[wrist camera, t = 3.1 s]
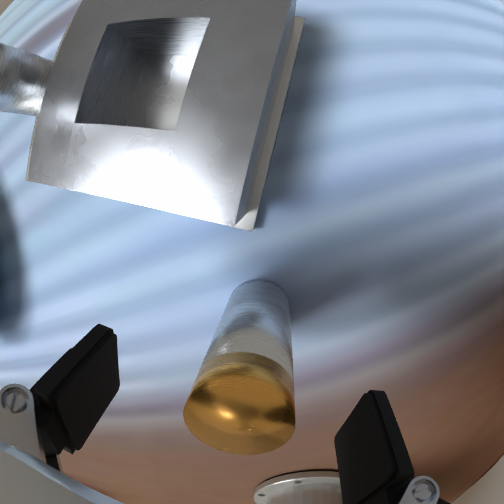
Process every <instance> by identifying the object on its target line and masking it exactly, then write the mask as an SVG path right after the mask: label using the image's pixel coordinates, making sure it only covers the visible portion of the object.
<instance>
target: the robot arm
mask: <svg viewBox="0 0 504 504" xmlns="http://www.w3.org/2000/svg"><path fill="white" fill-rule="evenodd" d="M119 386H120V380H119V368H118V352H117V336H116V334H114V332H113V329H111V328H109V327H106V326H104V325H101V324H97V325H96V326H95V327H94V328H93V329H92V330H91V331H90V332H89V333H88V334H87V335H86V336H84V337H83V338H82V339H81V340H80V341H79V342H78V343H77V344H76V345H75V346H74V347H73V348H71V349H69V350H68V351H67V352H66V353H65V354H64V355H63V356H62V357H61V358H60V359H59V360H58V361H57V362H56V363H55V364H54V365H53V366H52V367H51V368H50V369H49V370H48V371H47V372H46V373H45V374H44V375H43V376H42V377H41V378H40V379H39V380H38V381H37V382H36V384H35V385H34V386H33V387H32V388H31V389H30V390H29V389H27V388H26V387H25V386H23V385H20V384H9V385H7V386H5V387H3V388H2V389H1V390H0V504H124V503H121V502H119V501H116V500H114V499H112V498H110V497H107V496H105V495H103V494H101V493H99V492H97V491H95V490H93V489H91V488H89V487H87V486H85V485H83V484H81V483H79V482H77V481H75V480H73V479H72V478H70V477H68V476H66V475H65V474H64V473H63V470H62V466H61V462H60V458H59V454H60V453H61V451H62V450H63V449H64V450H66V451H67V452H69V453H71V454H72V455H73V453H74V451H75V450H80V449H81V448H82V446H83V445H84V443H85V441H86V440H87V438H88V437H89V435H90V433H91V432H92V430H93V429H94V427H95V426H96V424H97V422H98V421H99V419H100V418H101V416H102V415H103V413H104V412H105V410H106V408H107V407H108V405H109V404H110V402H111V401H112V399H113V398H114V396H115V395H116V393H117V392H118V390H119ZM334 442H335V449H336V456H337V463H338V471H339V472H333V471H308V472H298V473H292V474H287V475H282V476H278V477H275V478H272V479H269V480H267V481H265V482H263V483H261V484H260V485H259V486H258V487H257V488H256V489H255V492H254V501H255V503H256V504H450V503H448V502H446V501H444V500H442V499H441V498H439V495H440V490H439V486H438V484H437V483H436V482H435V480H433V479H432V478H430V477H428V476H418V477H416V478H415V477H414V473H415V472H414V469H413V466H412V463H411V460H410V457H409V454H408V451H407V449H406V446H405V443H404V440H403V437H402V434H401V432H400V429H399V426H398V424H397V421H396V418H395V416H394V413H393V410H392V408H391V405H390V403H389V400H388V398H387V395H386V393H385V392H384V391H377V390H370V391H368V393H365V394H364V395H363V396H362V397H361V399H360V401H359V402H358V404H357V405H356V407H355V408H354V410H353V411H352V413H351V414H350V416H349V417H348V418H347V420H346V421H345V423H344V424H343V425H342V427H341V428H340V430H339V431H338V432H337V434H336V436H335V440H334Z"/></svg>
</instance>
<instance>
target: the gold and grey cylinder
mask: <svg viewBox="0 0 504 504" xmlns="http://www.w3.org/2000/svg"><path fill="white" fill-rule="evenodd" d="M183 416H184V421H185V423H186V425H187V427H188V429H189V430H190V431H191V433H192V434H193V435H194V436H195V437H197V438H198V439H199V440H200V441H202V442H203V443H205V444H207V445H209V446H211V447H213V448H215V449H218V450H221V451H224V452H228V453H233V454H242V455H252V454H261V453H266V452H269V451H272V450H275V449H277V448H279V447H281V446H282V445H284V444H285V443H286V442H287V441H288V440H289V439H290V438H291V437H292V435H293V433H294V430H295V402H294V378H293V358H292V340H291V324H290V309H289V301H288V299H287V296H286V294H285V293H284V292H283V291H282V289H281V288H279V287H278V286H277V285H275V284H273V283H271V282H269V281H265V280H251V281H247V282H245V283H242V284H241V285H239V286H238V287H237V288H236V289H235V290H234V291H233V292H232V294H231V296H230V298H229V301H228V303H227V305H226V308H225V310H224V313H223V315H222V317H221V320H220V322H219V325H218V327H217V329H216V332H215V334H214V337H213V339H212V341H211V344H210V346H209V349H208V351H207V354H206V356H205V358H204V361H203V363H202V366H201V368H200V370H199V373H198V375H197V378H196V380H195V382H194V385H193V387H192V390H191V392H190V395H189V397H188V399H187V402H186V404H185V407H184V411H183Z"/></svg>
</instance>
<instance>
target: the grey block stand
mask: <svg viewBox="0 0 504 504" xmlns="http://www.w3.org/2000/svg"><path fill="white" fill-rule="evenodd" d="M295 9H296V0H83V1H82V3H81V5H80V6H79V8H78V10H77V12H76V14H75V16H74V18H73V20H72V22H71V23H69V24H68V27H67V29H66V31H65V33H64V35H63V38H62V40H61V42H60V45H59V47H58V50H57V52H56V55H55V57H54V60H53V61H51V60H48V59H46V58H43V57H40V56H38V55H35V54H32V53H30V52H27V51H24V50H21V49H18V48H15V47H12V46H9V45H6V44H3V43H0V112H9V113H17V114H24V115H31V116H36V120H35V125H34V130H33V134H32V140H31V145H30V151H29V157H28V164H27V172H26V181H30V182H35V183H40V184H45V185H50V186H55V187H60V188H64V189H69V190H74V191H79V192H83V193H88V194H93V195H97V196H102V197H107V198H111V199H116V200H120V201H125V202H129V203H134V204H138V205H143V206H147V207H151V208H156V209H160V210H164V211H169V212H173V213H177V214H181V215H186V216H190V217H194V218H198V219H202V220H207V221H211V222H215V223H219V224H223V225H227V226H231V227H235V228H239V229H244V230H248V231H252V232H253V230H254V227H255V222H256V218H257V214H258V210H259V206H260V202H261V198H262V194H263V189H264V185H265V181H266V177H267V173H268V169H269V165H270V161H271V157H272V152H273V148H274V144H275V140H276V136H277V132H278V128H279V124H280V120H281V116H282V112H283V108H284V104H285V99H286V95H287V91H288V87H289V83H290V79H291V75H292V71H293V67H294V63H295V59H296V55H297V51H298V47H299V43H300V39H301V35H302V31H303V27H304V21H305V18H302V17H297V16H295Z"/></svg>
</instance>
